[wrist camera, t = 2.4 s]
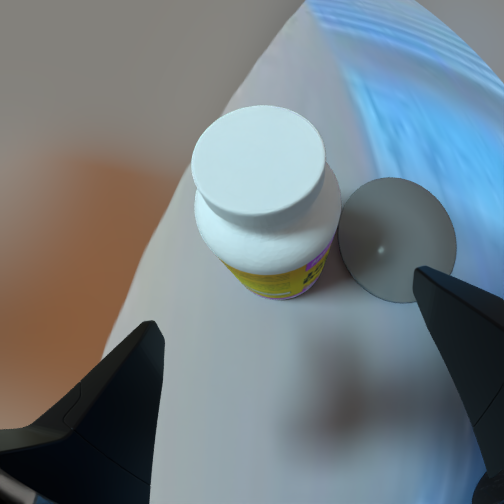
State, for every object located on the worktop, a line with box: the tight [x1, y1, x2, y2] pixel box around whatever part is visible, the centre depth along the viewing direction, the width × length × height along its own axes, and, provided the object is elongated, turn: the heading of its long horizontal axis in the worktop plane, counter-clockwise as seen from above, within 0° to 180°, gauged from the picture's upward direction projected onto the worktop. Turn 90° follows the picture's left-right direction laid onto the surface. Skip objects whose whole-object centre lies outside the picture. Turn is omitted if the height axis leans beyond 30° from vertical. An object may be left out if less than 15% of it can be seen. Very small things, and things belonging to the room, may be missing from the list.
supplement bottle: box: [191, 105, 341, 300], centre depth 16 cm, size 7×7×13 cm
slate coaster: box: [338, 177, 456, 303], centre depth 20 cm, size 10×10×1 cm
